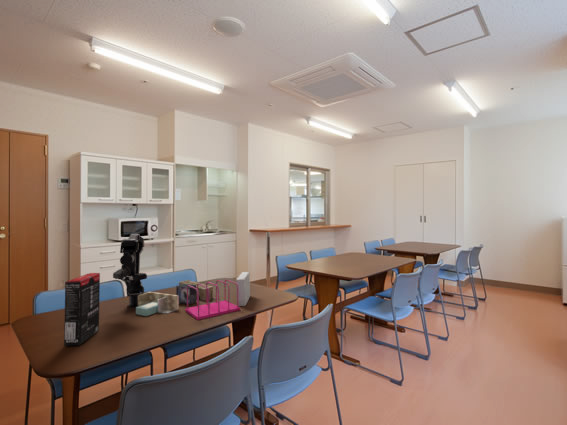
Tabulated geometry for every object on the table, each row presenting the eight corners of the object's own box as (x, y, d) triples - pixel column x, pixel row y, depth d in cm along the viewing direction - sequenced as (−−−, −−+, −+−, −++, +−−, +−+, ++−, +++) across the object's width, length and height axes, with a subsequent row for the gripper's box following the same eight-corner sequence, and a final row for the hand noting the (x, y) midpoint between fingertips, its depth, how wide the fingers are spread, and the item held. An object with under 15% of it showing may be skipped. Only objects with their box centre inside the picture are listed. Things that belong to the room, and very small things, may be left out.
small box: (175, 303, 184) (175, 285, 184) (182, 300, 190) (182, 283, 190) (189, 305, 180) (189, 287, 180) (196, 301, 186) (196, 284, 186)
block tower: (214, 300, 194) (188, 290, 213) (214, 286, 194) (189, 278, 213) (203, 302, 188) (178, 293, 207) (203, 289, 188) (178, 280, 207)
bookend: (157, 312, 167) (157, 299, 167) (166, 308, 174) (166, 296, 174) (167, 314, 165) (167, 301, 165) (176, 310, 171) (176, 297, 171)
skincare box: (242, 296, 199) (242, 271, 199) (250, 296, 199) (250, 271, 199) (236, 306, 178) (235, 279, 178) (245, 306, 178) (245, 279, 178)
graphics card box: (85, 331, 142) (84, 272, 142) (101, 330, 143) (100, 272, 142) (63, 347, 125) (62, 281, 125) (81, 346, 126) (81, 280, 125)
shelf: (137, 309, 173) (137, 295, 173) (149, 305, 180) (149, 291, 180) (167, 314, 164) (167, 299, 164) (178, 309, 172) (178, 295, 172)
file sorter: (185, 311, 169) (185, 283, 169) (225, 303, 184) (225, 277, 184) (197, 320, 155) (197, 289, 155) (240, 310, 170) (240, 282, 170)
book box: (136, 314, 165) (135, 307, 165) (154, 308, 176) (154, 301, 176) (146, 316, 161) (146, 309, 161) (164, 310, 172) (164, 303, 172)
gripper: (103, 263, 158) (103, 293, 158) (129, 266, 151) (130, 297, 151) (122, 260, 168) (122, 288, 168) (147, 262, 161) (147, 292, 161)
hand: (130, 291), depth 162 cm, fingers closed
